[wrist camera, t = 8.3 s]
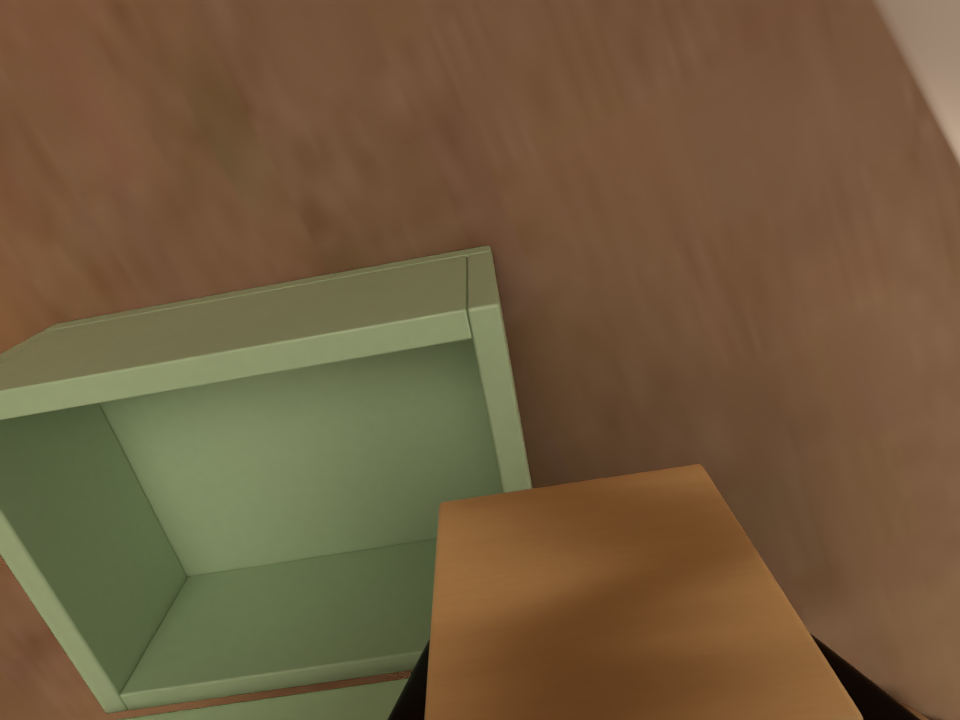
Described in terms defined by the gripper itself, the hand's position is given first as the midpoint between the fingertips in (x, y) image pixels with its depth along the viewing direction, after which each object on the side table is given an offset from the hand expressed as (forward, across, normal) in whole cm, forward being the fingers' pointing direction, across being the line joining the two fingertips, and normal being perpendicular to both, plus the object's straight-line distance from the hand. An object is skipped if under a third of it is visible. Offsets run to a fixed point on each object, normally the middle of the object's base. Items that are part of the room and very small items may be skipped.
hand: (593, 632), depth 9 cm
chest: (+11, +7, +2) cm, 13 cm away
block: (+1, 0, 0) cm, 1 cm away
